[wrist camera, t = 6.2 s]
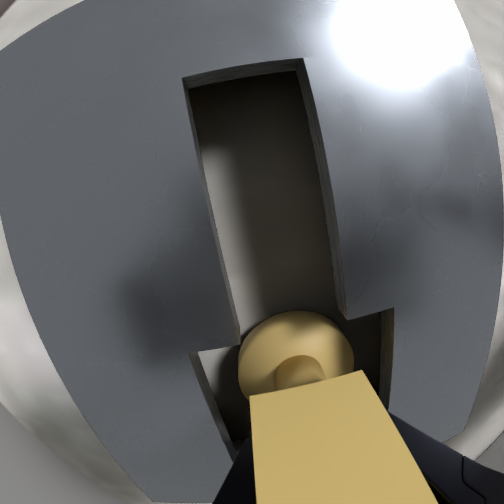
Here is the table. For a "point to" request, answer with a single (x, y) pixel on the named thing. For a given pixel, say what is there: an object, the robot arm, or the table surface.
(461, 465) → the robot arm
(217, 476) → the keyhole plate
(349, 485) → the peg
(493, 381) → the table surface
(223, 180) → the table surface
